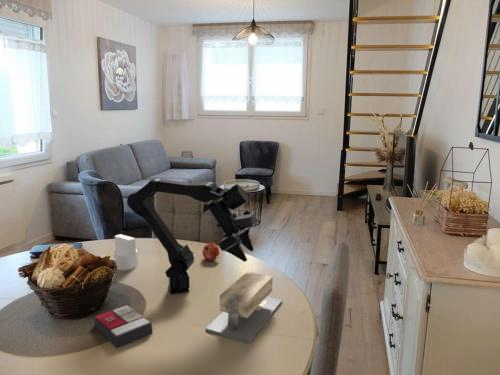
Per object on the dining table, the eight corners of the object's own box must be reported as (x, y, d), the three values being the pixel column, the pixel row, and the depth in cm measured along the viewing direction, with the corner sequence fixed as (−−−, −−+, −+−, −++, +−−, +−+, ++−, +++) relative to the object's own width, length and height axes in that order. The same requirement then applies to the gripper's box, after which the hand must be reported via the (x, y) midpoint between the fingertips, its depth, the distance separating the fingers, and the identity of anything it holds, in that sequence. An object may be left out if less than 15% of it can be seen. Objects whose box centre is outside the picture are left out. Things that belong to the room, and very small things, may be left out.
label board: (205, 330, 120) (205, 327, 120) (244, 293, 143) (244, 290, 143) (248, 343, 114) (248, 340, 114) (282, 302, 137) (282, 299, 137)
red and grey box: (127, 303, 128) (152, 320, 118) (128, 316, 129) (153, 334, 118) (93, 315, 121) (115, 335, 110) (94, 329, 122) (116, 349, 111)
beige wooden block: (217, 325, 121) (217, 294, 119) (247, 296, 139) (247, 268, 137) (244, 333, 117) (245, 301, 115) (271, 302, 136) (272, 273, 133)
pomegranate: (210, 259, 177) (194, 250, 171) (220, 245, 178) (204, 236, 172) (218, 267, 171) (202, 258, 165) (228, 253, 172) (212, 243, 166)
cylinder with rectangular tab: (142, 264, 166) (141, 236, 163) (125, 272, 158) (123, 242, 156) (127, 259, 171) (126, 231, 168) (109, 266, 163) (107, 238, 160)
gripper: (235, 212, 124) (263, 255, 125) (250, 197, 141) (274, 235, 142) (206, 229, 127) (234, 271, 128) (224, 213, 145) (248, 250, 146)
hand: (249, 255), depth 136 cm, fingers open, 9 cm apart
